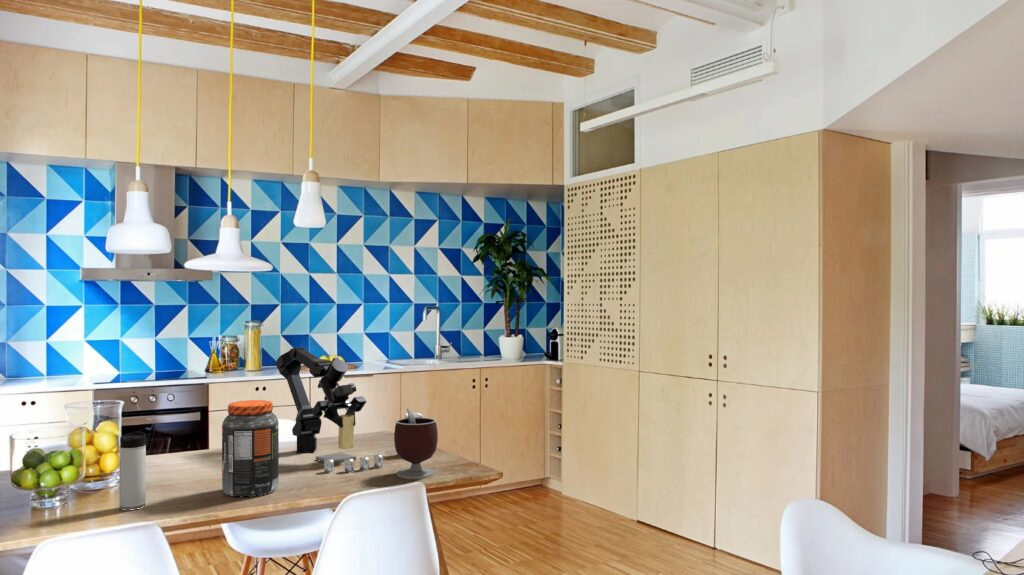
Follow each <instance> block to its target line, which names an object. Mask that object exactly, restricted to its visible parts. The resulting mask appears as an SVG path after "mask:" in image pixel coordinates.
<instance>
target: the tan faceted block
mask: <svg viewBox="0 0 1024 575" xmlns="http://www.w3.org/2000/svg"><path fill="white" fill-rule="evenodd" d="M339 416H340V419H341V421H342V423H343V427H342V428H341V427H339V426H338V439H337V440H338V443H337V444H338V446H337V447H338V449H341V450H351V449H353V448H354V443H355V442H354V440H355V439H354V438H355V437H354V436H355V434H354V432H355V426H354V415H350V414H348V415H345V414H339Z"/></svg>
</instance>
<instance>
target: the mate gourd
mask: <svg viewBox="0 0 1024 575" xmlns="http://www.w3.org/2000/svg"><path fill="white" fill-rule="evenodd" d="M406 411H407V414H408V418H405V417H404V418H400V419H397V420H396V421H395V426H394V434H393V435H394V436H393V442H394V450H395V452H396V454H397V455H398V457H399V458H400V459H401V460H403V461H406V462H408V463H411V465H410V468H403V469H400V470H398V471H397V472H396V476H397V477H398V478H400V479H401V478H402V479H409V480H419V479H421V480H422V479H427V477H428V478H431V477H430V476H432V477H434V476H435V475H436V471H435V469H432V468H427V467H422V465H421V463H423V462H426V461H427V460H429V459H431V458H432V457H433V456H434V454H435V453H436V451H437V448H438V440H439V438H438V437H439V434H438V433H439V432H438V425H437V420H436V419H435V418H430V417H429V418H428V417H423V418H415V417H414V415H413V413H414V412H412V411H411V409H410V408H406ZM433 475H434V476H433Z"/></svg>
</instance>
